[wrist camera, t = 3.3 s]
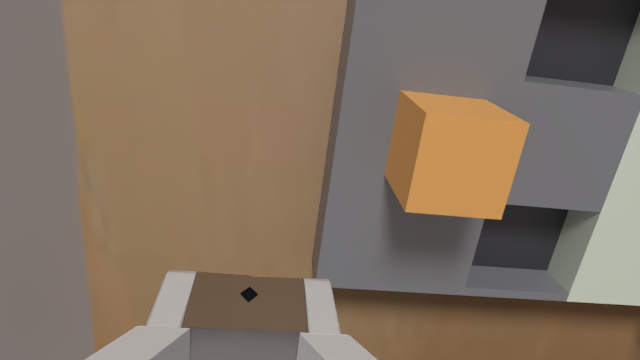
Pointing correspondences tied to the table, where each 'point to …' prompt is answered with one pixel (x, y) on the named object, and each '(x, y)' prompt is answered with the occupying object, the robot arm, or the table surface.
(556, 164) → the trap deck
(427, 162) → the block
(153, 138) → the table surface
